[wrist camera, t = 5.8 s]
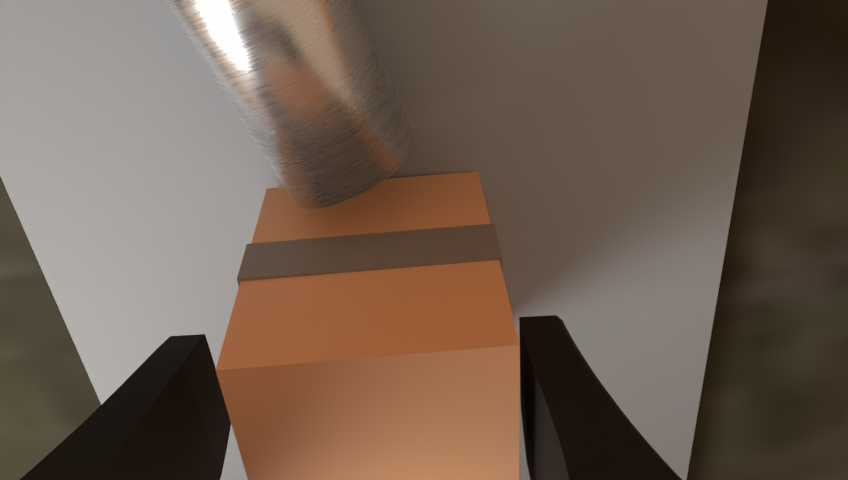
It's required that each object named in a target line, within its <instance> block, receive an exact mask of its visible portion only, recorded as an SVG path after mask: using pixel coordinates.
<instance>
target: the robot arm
mask: <svg viewBox="0 0 848 480" xmlns="http://www.w3.org/2000/svg"><path fill="white" fill-rule="evenodd" d="M519 329H520V405H521V415H522V425H523V434H524V443H525V452H526V461H527V466H528V471H529V475H530V480H682V479H681V478H680V477H679V476H678V475H677V474H676V473H675V472H674V471H673V470H672V469H671V467H670V466H669V465H668V464H667V463H666V462H665V461H664V460H663V459H662V458H661V457H660V456H659V454H658V453H657V452H656V451H655V450H654V449H653V448H652V447H651V445H650V444H649V443H648V442H647V441H646V440H645V438H644V437H643V436H642V435H641V434H640V432H639V431H638V430H637V429H636V428H635V427H634V425H633V424H632V423H631V422H630V420H629V419H628V418H627V417H626V415H625V414H624V413H623V412H622V410H621V409H620V408H619V406H618V405H617V404H616V402H615V401H614V400H613V398H612V397H611V396H610V394H609V393H608V392H607V390H606V389H605V388H604V386H603V385H602V384H601V382H600V381H599V379H598V378H597V376H596V375H595V374H594V372H593V371H592V369H591V368H590V366H589V365H588V363H587V361H586V360H585V358H584V357H583V355H582V354H581V352H580V351H579V349H578V347H577V346H576V344H575V342H574V341H573V339H572V337H571V335H570V334H569V332H568V330H567V328H566V326H565V324H564V322H563V320H562V319H560V318H559V317H558V316H557V315H550V316H531V317H519ZM230 427H231V421H230V418H229V414H228V411H227V408H226V404H225V401H224V397H223V394H222V391H221V387H220V384H219V381H218V377H217V374H216V368H215V364H214V361H213V358H212V355H211V352H210V348H209V345H208V342H207V339H206V336H205V334H200V335H182V336H170V337H169V338H168V339H167V340H166V341H165V342H164V343H163V344H161V345H160V346H159V347H158V348H157V349H156V350H155V351H154V352H153V353H152V354H151V355H150V356H149V357H148V358H147V359H146V361H145V362H144V363H143V364H142V365H141V366H140V367H139V368H138V369H137V370H136V371H135V372H134V373H133V374H132V375H131V376H130V377H129V378H128V379H127V380H126V381H125V382H124V383H123V384H122V385H121V386H120V387H119V388H118V389H117V390H116V391H115V392H114V393H113V394H112V395H111V396H110V397H109V398H108V399H107V400H106V401H105V402H104V403H103V404H102V405H101V406H100V407H99V408H98V409H97V410H96V411H95V412H94V413H93V414H92V415H91V416H90V417H89V418H88V419H87V420H86V421H85V422H83V423H82V424H81V425H80V426H79V427H78V428H77V429H76V430H75V431H74V432H73V433H71V434H70V435H69V436H68V437H67V438H66V439H65V440H64V441H63V442H62V443H60V444H59V445H58V446H57V447H56V448H55V449H54V450H53V451H52V452H51V453H49V454H48V455H47V456H46V457H45V458H44V459H43V460H42V461H41V462H40V463H38V464H37V465H36V466H35V467H34V468H33V469H32V470H31V471H29V472H28V473H27V474H26V475H25V476H23V477H22V478H21V479H20V480H220V478H221V475H222V470H223V465H224V460H225V455H226V450H227V444H228V439H229V433H230Z"/></svg>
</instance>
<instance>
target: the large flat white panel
mask: <svg viewBox="0 0 848 480" xmlns="http://www.w3.org/2000/svg"><path fill="white" fill-rule="evenodd" d="M351 2H352V4H353V6H354V8H355V10H356V12H357V14H358V16H359V18H360V20H361V22H362V24H363V26H364V28H365V30H366V32H367V34H368V36H369V38H370V40H371V42H372V44H373V46H374V48H375V50H376V52H377V54H378V56H379V58H380V60H381V62H382V64H383V66H384V68H385V70H386V72H387V74H388V76H389V78H390V80H391V82H392V84H393V86H394V88H395V90H396V92H397V94H398V96H399V98H400V100H401V102H402V104H403V106H404V108H405V110H406V112H407V114H408V116H409V118H410V120H411V122H412V124H413V126H414V128H415V130H416V132H417V134H418V144H417V146H416V148H415V150H414V152H413V153H412V155H411V156H410V157H409V159H408V160H407V161H406V162H405V163H404V164H403V165H402V166H401V167H400V168H399V169H398V170H397V171H395V172H394V173H393V174H392V175H390V176H389V177H388V178H386V179H389V178H402V177H414V176H426V175H438V174H450V173H462V172H475V171H478V173H479V178H480V182H481V186H482V190H483V194H484V198H485V203H486V207H487V211H488V215H489V219H490V223H491V224H493V223H494V225H495V229H496V233H497V237H498V241H499V245H500V249H501V253H502V260H503V278H504V282H505V286H506V290H507V294H508V298H509V303H510V307H511V311H512V315H513V319H514V323H515V328H516V332H517V336H518V340H519V344H520V329H519V317H531V316H550V315H557V316H558V317H559V318H560V319H562V320H563V322H564V324H565V326H566V328H567V330H568V332H569V334H570V335H571V337H572V339H573V341H574V342H575V344H576V346H577V347H578V349H579V351H580V352H581V354H582V355H583V357H584V358H585V360H586V361H587V363H588V365H589V366H590V368H591V369H592V371H593V372H594V374H595V375H596V376H597V378H598V379H599V381H600V382H601V384H602V385H603V386H604V388H605V389H606V390H607V392H608V393H609V394H610V396H611V397H612V398H613V400H614V401H615V402H616V404H617V405H618V406H619V408H620V409H621V410H622V412H623V413H624V414H625V415H626V417H627V418H628V419H629V420H630V422H631V423H632V424H633V425H634V427H635V428H636V429H637V430H638V431H639V432H640V434H641V435H642V436H643V437H644V438H645V440H646V441H647V442H648V443H649V444H650V445H651V447H652V448H653V449H654V450H655V451H656V452H657V453H658V454H659V456H660V457H661V458H662V459H663V460H664V461H665V462H666V463H667V464H668V465H669V466H670V467H671V469H672V470H673V471H674V472H675V473H676V474H677V475H678V476H679V477H680V478H681V479H682V480H686V479H687V474H688V468H689V462H690V456H691V450H692V444H693V438H694V432H695V426H696V421H697V415H698V409H699V403H700V397H701V391H702V385H703V379H704V373H705V367H706V362H707V356H708V350H709V344H710V338H711V332H712V326H713V320H714V314H715V308H716V303H717V297H718V291H719V285H720V279H721V273H722V267H723V261H724V255H725V250H726V244H727V238H728V232H729V226H730V220H731V214H732V208H733V202H734V196H735V191H736V185H737V179H738V173H739V167H740V161H741V155H742V149H743V143H744V137H745V132H746V126H747V120H748V114H749V108H750V102H751V96H752V90H753V84H754V79H755V73H756V67H757V61H758V55H759V49H760V43H761V37H762V31H763V25H764V20H765V14H766V8H767V2H768V0H351ZM0 176H1V178H2V181H3V183H4V185H5V188H6V190H7V192H8V194H9V197H10V199H11V201H12V203H13V206H14V208H15V210H16V212H17V215H18V217H19V219H20V221H21V224H22V226H23V228H24V231H25V233H26V235H27V237H28V240H29V242H30V244H31V246H32V249H33V251H34V253H35V255H36V258H37V260H38V262H39V264H40V267H41V269H42V271H43V274H44V276H45V278H46V280H47V283H48V285H49V287H50V289H51V292H52V294H53V296H54V298H55V301H56V303H57V305H58V307H59V310H60V312H61V314H62V317H63V319H64V321H65V323H66V326H67V328H68V330H69V332H70V335H71V337H72V339H73V341H74V344H75V346H76V348H77V350H78V353H79V355H80V357H81V360H82V362H83V364H84V366H85V369H86V371H87V373H88V375H89V378H90V380H91V382H92V384H93V387H94V389H95V391H96V393H97V396H98V398H99V400H100V403H101V405H102V404H103V403H104V402H105V401H106V400H107V399H108V398H109V397H110V396H111V395H112V394H113V393H114V392H115V391H116V390H117V389H118V388H119V387H120V386H121V385H122V384H123V383H124V382H125V381H126V380H127V379H128V378H129V377H130V376H131V375H132V374H133V373H134V372H135V371H136V370H137V369H138V368H139V367H140V366H141V365H142V364H143V363H144V362H145V361H146V359H147V358H148V357H149V356H150V355H151V354H152V353H153V352H154V351H155V350H156V349H157V348H158V347H159V346H160V345H161V344H163V343H164V342H165V341H166V340H167V339H168V338H169V337H170V336H182V335H200V334H205V336H206V339H207V342H208V345H209V348H210V352H211V355H212V358H213V361H214V364H215V368H216V367H217V363H218V360H219V356H220V353H221V349H222V345H223V342H224V338H225V335H226V331H227V328H228V324H229V321H230V317H231V314H232V310H233V306H234V303H235V299H236V296H237V292H238V289H239V286H238V282H237V276H238V273H239V269H240V266H241V262H242V259H243V256H244V252H245V249H246V245H247V244H251V243H252V239H253V236H254V232H255V229H256V225H257V221H258V218H259V214H260V211H261V207H262V204H263V200H264V197H265V193H266V190H267V189H268V188H280V187H284V186H283V185H282V183H281V181H280V180H279V178H278V177H277V175H276V173H275V172H274V170H273V169H272V167H271V166H270V164H269V162H268V161H267V159H266V158H265V156H264V155H263V153H262V151H261V150H260V148H259V147H258V145H257V144H256V142H255V140H254V139H253V137H252V136H251V134H250V132H249V131H248V129H247V128H246V126H245V125H244V123H243V121H242V120H241V118H240V117H239V115H238V114H237V112H236V110H235V109H234V107H233V106H232V104H231V103H230V101H229V99H228V98H227V96H226V95H225V93H224V91H223V90H222V88H221V87H220V85H219V84H218V82H217V80H216V79H215V77H214V76H213V74H212V73H211V71H210V69H209V68H208V66H207V65H206V63H205V61H204V60H203V58H202V57H201V55H200V54H199V52H198V50H197V49H196V47H195V46H194V44H193V43H192V41H191V39H190V38H189V36H188V35H187V33H186V32H185V30H184V28H183V27H182V25H181V24H180V22H179V20H178V19H177V17H176V16H175V14H174V13H173V11H172V9H171V8H170V6H169V5H168V3H167V2H166V0H0ZM220 480H248V478H247V475H246V472H245V468H244V465H243V461H242V458H241V455H240V451H239V448H238V445H237V441H236V438H235V434H234V431H233V428H232V424H231V427H230V433H229V439H228V444H227V450H226V455H225V460H224V465H223V470H222V475H221V478H220ZM519 480H530V475H529V471H528V466H527V461H526V452H525V443H524V434H523V425H522V415H521V405H520V396H519Z"/></svg>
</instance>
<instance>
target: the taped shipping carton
mask: <svg viewBox="0 0 848 480" xmlns="http://www.w3.org/2000/svg"><path fill="white" fill-rule="evenodd" d="M237 282H238V286H239V289H238V292H237V296H236V299H235V303H234V306H233V310H232V314H231V317H230V321H229V324H228V328H227V331H226V335H225V338H224V342H223V345H222V349H221V353H220V356H219V360H218V363H217V367H216V374H217V377H218V381H219V384H220V387H221V391H222V394H223V397H224V401H225V404H226V408H227V411H228V414H229V418H230V421H231V424H232V428H233V431H234V434H235V438H236V441H237V445H238V448H239V451H240V455H241V458H242V461H243V465H244V468H245V472H246V475H247V478H248V480H519V396H520V344H519V340H518V336H517V332H516V328H515V323H514V319H513V315H512V311H511V307H510V303H509V298H508V294H507V290H506V286H505V282H504V278H503V260H502V253H501V249H500V245H499V241H498V237H497V233H496V229H495V225H494V223H493V224H491V223H490V219H489V215H488V211H487V207H486V203H485V198H484V194H483V190H482V186H481V182H480V178H479V173H478V171H475V172H462V173H450V174H438V175H426V176H414V177H402V178H389V179H385V180H384V181H382V182H381V183H379V184H378V185H376V186H374V187H373V188H371V189H369V190H367V191H366V192H364V193H362V194H360V195H358V196H356V197H353V198H351V199H349V200H346V201H344V202H341V203H338V204H335V205H332V206H328V207H323V208H316V209H307V208H301V207H299V206H297V205H296V204H295V203H294V202H293V200H292V199H291V197H290V196H289V194H288V192H287V191H286V189H285V188H284V187H280V188H268V189H267V190H266V193H265V197H264V200H263V204H262V207H261V211H260V214H259V218H258V221H257V225H256V229H255V232H254V236H253V239H252V243H251V244H247V245H246V249H245V252H244V256H243V259H242V262H241V266H240V269H239V273H238V276H237Z"/></svg>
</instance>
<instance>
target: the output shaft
mask: <svg viewBox="0 0 848 480" xmlns="http://www.w3.org/2000/svg"><path fill="white" fill-rule="evenodd" d="M166 2H167V3H168V5H169V6H170V8H171V9H172V11H173V13H174V14H175V16H176V17H177V19H178V20H179V22H180V24H181V25H182V27H183V28H184V30H185V32H186V33H187V35H188V36H189V38H190V39H191V41H192V43H193V44H194V46H195V47H196V49H197V50H198V52H199V54H200V55H201V57H202V58H203V60H204V61H205V63H206V65H207V66H208V68H209V69H210V71H211V73H212V74H213V76H214V77H215V79H216V80H217V82H218V84H219V85H220V87H221V88H222V90H223V91H224V93H225V95H226V96H227V98H228V99H229V101H230V103H231V104H232V106H233V107H234V109H235V110H236V112H237V114H238V115H239V117H240V118H241V120H242V121H243V123H244V125H245V126H246V128H247V129H248V131H249V132H250V134H251V136H252V137H253V139H254V140H255V142H256V144H257V145H258V147H259V148H260V150H261V151H262V153H263V155H264V156H265V158H266V159H267V161H268V162H269V164H270V166H271V167H272V169H273V170H274V172H275V173H276V175H277V177H278V178H279V180H280V181H281V183H282V185H283V186H284V188H285V189H286V191H287V192H288V194H289V196H290V197H291V199H292V200H293V202H294V203H295V204H296V205H297V206H299V207H301V208H307V209H316V208H323V207H328V206H332V205H335V204H338V203H341V202H344V201H346V200H349V199H351V198H353V197H356V196H358V195H360V194H362V193H364V192H366V191H367V190H369V189H371V188H373V187H374V186H376V185H378V184H379V183H381V182H382V181H384V180H385V179H386V178H388V177H389V176H390V175H392V174H393V173H394V172H395V171H397V170H398V169H399V168H400V167H401V166H402V165H403V164H404V163H405V162H406V161H407V160H408V159H409V157H410V156H411V155H412V153H413V152H414V150H415V148H416V146H417V144H418V134H417V132H416V130H415V128H414V126H413V124H412V122H411V120H410V118H409V116H408V114H407V112H406V110H405V108H404V106H403V104H402V102H401V100H400V98H399V96H398V94H397V92H396V90H395V88H394V86H393V84H392V82H391V80H390V78H389V76H388V74H387V72H386V70H385V68H384V66H383V64H382V62H381V60H380V58H379V56H378V54H377V52H376V50H375V48H374V46H373V44H372V42H371V40H370V38H369V36H368V34H367V32H366V30H365V28H364V26H363V24H362V22H361V20H360V18H359V16H358V14H357V12H356V10H355V8H354V6H353V4H352V2H351V0H166Z"/></svg>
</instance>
